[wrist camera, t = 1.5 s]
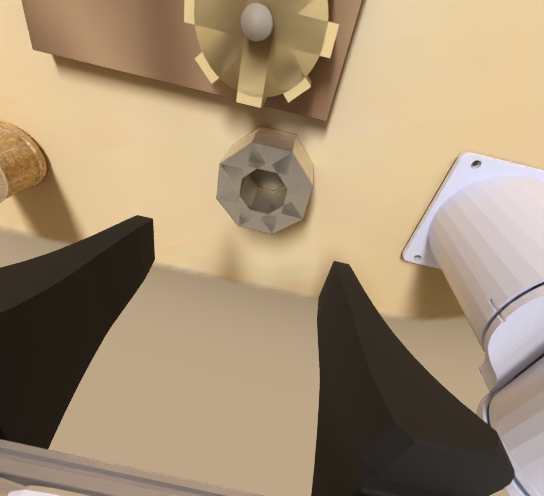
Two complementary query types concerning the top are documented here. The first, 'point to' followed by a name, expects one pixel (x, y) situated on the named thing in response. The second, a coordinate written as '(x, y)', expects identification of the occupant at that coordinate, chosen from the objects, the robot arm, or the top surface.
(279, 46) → the gear board
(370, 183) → the top surface
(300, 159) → the loose gear
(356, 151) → the top surface
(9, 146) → the sprinkles bottle
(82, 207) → the top surface
